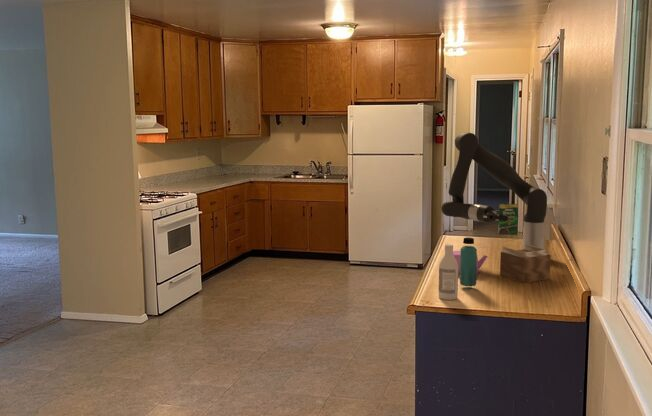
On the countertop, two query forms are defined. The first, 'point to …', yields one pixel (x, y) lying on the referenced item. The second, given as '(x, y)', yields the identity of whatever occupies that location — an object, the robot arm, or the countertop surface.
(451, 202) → the robot arm
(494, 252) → the countertop surface
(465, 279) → the beverage bottle
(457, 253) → the teapot
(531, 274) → the walnut stand
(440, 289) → the bath foam
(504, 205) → the coffee box
